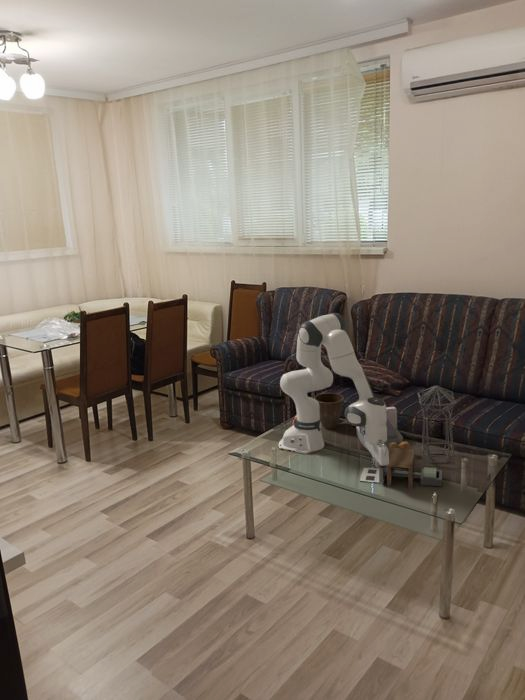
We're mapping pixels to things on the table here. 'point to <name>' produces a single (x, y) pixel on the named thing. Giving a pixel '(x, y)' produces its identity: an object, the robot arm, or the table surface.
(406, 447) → the lion figurine
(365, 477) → the pit board
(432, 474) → the block
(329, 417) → the plant pot
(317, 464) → the table surface
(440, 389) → the geometric lantern
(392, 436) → the instant camera
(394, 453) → the tunnel
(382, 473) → the sled collar
